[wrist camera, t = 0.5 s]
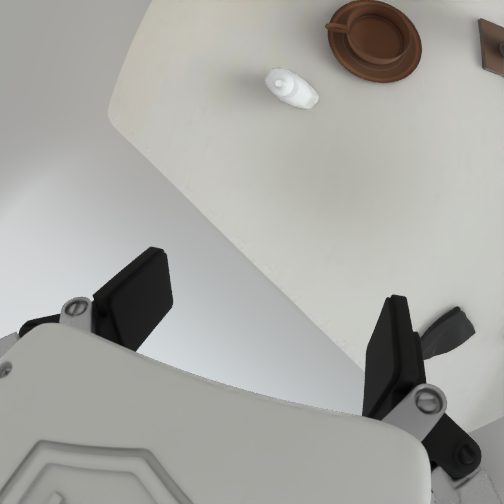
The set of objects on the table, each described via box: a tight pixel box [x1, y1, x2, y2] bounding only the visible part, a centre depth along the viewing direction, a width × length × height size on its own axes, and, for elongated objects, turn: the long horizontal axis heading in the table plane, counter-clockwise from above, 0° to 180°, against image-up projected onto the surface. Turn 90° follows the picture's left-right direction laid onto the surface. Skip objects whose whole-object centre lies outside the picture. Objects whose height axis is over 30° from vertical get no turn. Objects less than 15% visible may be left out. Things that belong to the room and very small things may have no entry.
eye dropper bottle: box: [265, 68, 319, 109], centre depth 29 cm, size 4×6×12 cm
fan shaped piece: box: [420, 307, 475, 360], centre depth 43 cm, size 8×14×2 cm, turn 139°
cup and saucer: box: [325, 0, 422, 83], centre depth 25 cm, size 12×12×6 cm
